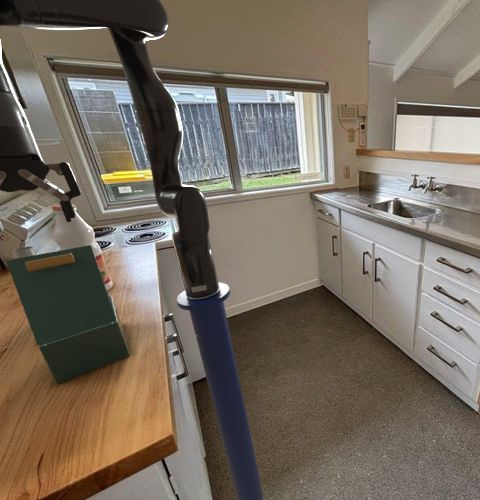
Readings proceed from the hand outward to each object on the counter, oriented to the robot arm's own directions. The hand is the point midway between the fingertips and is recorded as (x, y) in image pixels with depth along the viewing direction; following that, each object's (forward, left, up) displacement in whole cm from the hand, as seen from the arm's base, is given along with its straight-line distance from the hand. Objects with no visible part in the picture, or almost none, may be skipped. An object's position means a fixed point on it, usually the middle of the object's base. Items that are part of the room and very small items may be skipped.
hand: (36, 225), depth 49 cm
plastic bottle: (-24, -23, -31) cm, 46 cm away
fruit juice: (-39, -21, -31) cm, 54 cm away
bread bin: (-5, -3, -31) cm, 31 cm away
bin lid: (-1, -1, -14) cm, 14 cm away
